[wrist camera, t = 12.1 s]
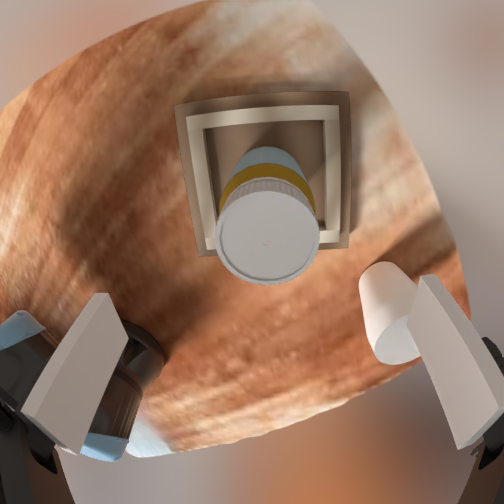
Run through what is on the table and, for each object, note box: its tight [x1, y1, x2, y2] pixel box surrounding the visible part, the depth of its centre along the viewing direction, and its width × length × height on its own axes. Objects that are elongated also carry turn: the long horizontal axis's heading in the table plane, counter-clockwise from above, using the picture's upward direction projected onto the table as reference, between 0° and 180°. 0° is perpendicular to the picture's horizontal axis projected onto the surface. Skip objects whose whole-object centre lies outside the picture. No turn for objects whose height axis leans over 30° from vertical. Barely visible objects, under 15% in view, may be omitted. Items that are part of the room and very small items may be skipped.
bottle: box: [214, 146, 320, 285], centre depth 23 cm, size 7×7×15 cm
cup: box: [359, 261, 421, 365], centre depth 33 cm, size 9×9×12 cm
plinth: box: [174, 91, 351, 257], centre depth 30 cm, size 18×18×4 cm
